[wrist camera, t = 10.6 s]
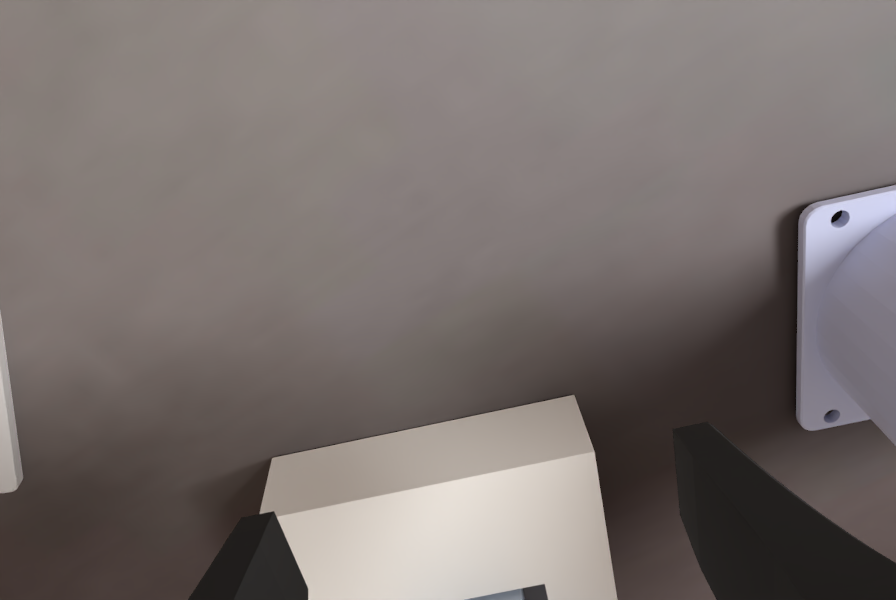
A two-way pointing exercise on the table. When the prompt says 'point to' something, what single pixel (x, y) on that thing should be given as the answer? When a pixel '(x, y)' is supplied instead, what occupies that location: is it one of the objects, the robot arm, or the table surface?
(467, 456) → the power strip
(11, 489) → the smartphone
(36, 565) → the table surface
